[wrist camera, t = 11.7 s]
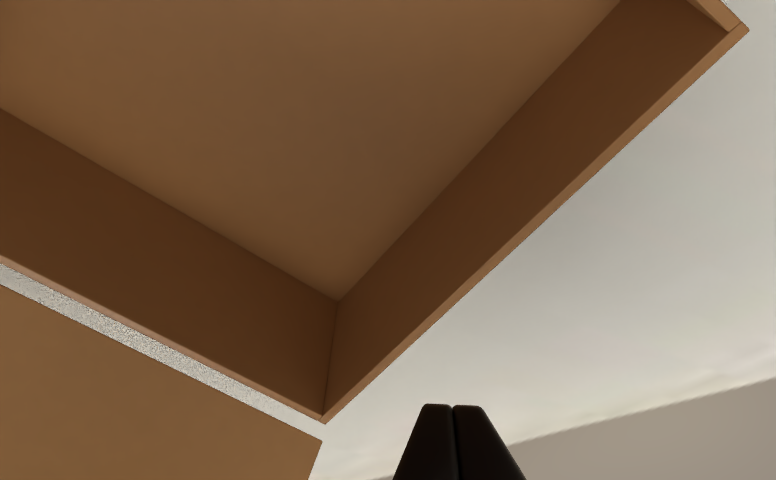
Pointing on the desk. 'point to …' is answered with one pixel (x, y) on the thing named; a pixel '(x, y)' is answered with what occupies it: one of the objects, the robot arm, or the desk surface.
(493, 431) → the robot arm
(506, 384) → the desk surface
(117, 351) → the flap
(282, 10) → the carton
